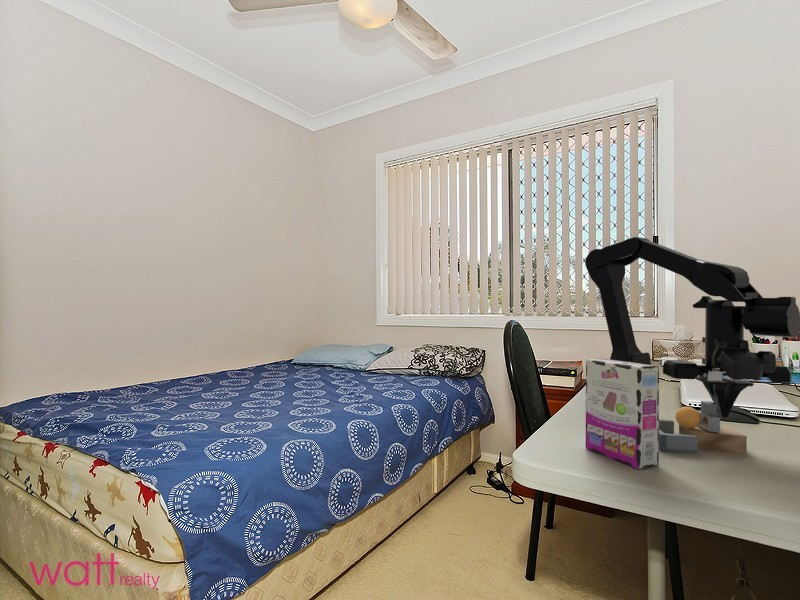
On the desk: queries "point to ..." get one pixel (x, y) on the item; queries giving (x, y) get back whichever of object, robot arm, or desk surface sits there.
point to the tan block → (718, 439)
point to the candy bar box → (623, 411)
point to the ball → (688, 417)
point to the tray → (675, 439)
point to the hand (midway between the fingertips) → (723, 417)
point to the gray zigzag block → (709, 416)
